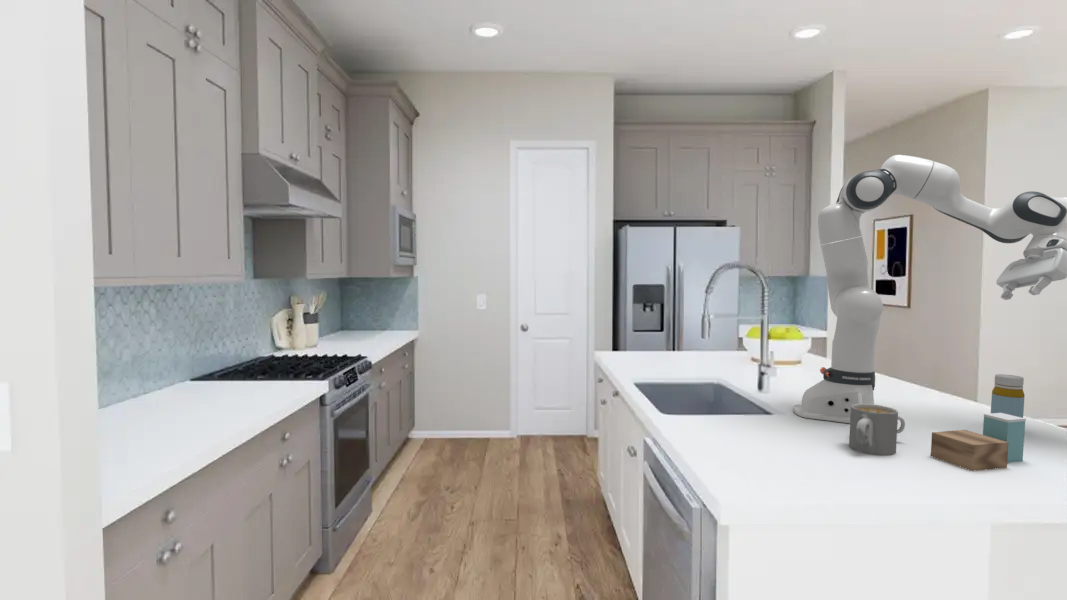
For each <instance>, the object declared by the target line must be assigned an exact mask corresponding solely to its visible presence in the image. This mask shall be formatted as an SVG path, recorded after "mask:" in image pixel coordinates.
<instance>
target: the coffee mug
mask: <svg viewBox="0 0 1067 600" xmlns="http://www.w3.org/2000/svg"><path fill="white" fill-rule="evenodd" d="M898 416H899V412H898V410H897V409H895V408H893V407H889V406H885V405H879V404H874V405H873V404H854V405H851V415H850V423H849V436H848V437H849V438H848V439H849V440H848V441H849V442H848V446H849V448H851V449H852V450H854V451H857V452H861V453H864V454H869V455H875V456H892V455H895V454H896V453H897V441H898V439H897V437H898V434H897V430H898V421H899V420H898Z"/></svg>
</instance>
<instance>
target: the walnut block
mask: <svg viewBox="0 0 1067 600" xmlns="http://www.w3.org/2000/svg"><path fill="white" fill-rule="evenodd" d="M930 442H931V444H930V457H931V456H933V457H932V458H934V457H935V459H937V458H938V460H940V459H941V460H940V461H943V460H944V461H943V462H945V461H947V462H946V463H948V462H949V464H951V463H952V464H951V465H954V464H955V465H954V466H957V467H960V466H961V467H960V468H962V467H963V469H965V468H966V470H968V469H969V470H968V471H971V470H972V471H971V472H973V471H974V470H976V471H985V469H987V470H996V469H997V468H998V469H1006V468H1008V463H1007V459H1008V443H1009V442H1006V441H1002V440H999V439H995V438H992V437H988V436H985V435H983V434H981V433H977V432H974V431H971V430H968V429H959V430H946V431H932V432H931V441H930ZM995 468H996V469H995ZM998 469H997V470H998Z"/></svg>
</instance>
